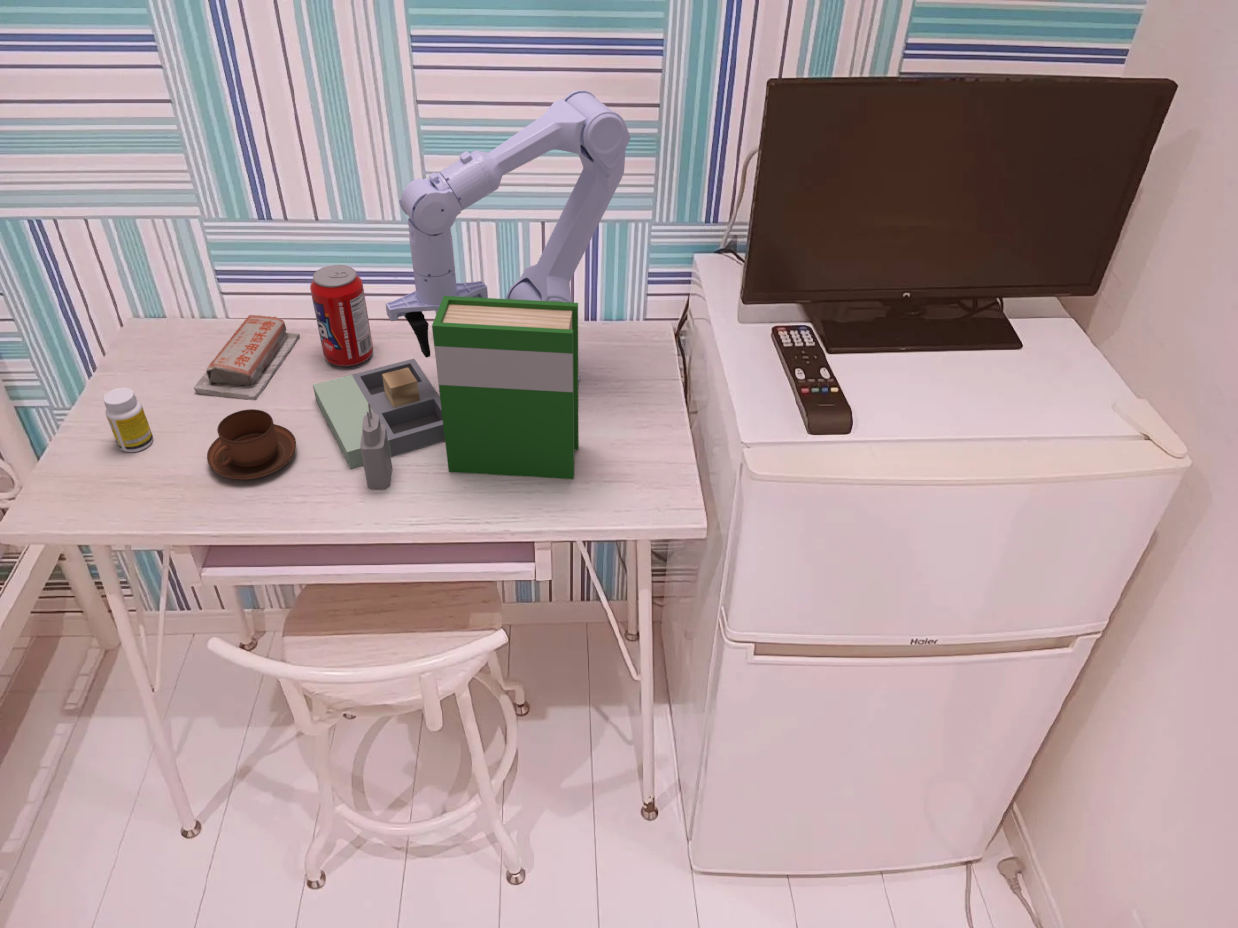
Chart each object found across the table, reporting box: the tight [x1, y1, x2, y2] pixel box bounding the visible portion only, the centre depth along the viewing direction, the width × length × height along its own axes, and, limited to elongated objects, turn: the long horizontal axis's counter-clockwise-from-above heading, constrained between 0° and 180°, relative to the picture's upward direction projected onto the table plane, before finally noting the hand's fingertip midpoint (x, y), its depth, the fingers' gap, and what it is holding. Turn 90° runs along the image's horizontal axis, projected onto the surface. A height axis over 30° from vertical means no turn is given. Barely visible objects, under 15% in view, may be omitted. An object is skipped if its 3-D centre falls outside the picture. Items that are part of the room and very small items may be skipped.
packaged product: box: [193, 314, 301, 401], centre depth 156 cm, size 18×5×10 cm
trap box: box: [312, 358, 445, 469], centre depth 147 cm, size 16×18×3 cm
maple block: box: [382, 368, 420, 408], centre depth 146 cm, size 4×4×4 cm
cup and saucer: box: [206, 408, 297, 480], centre depth 138 cm, size 12×12×6 cm
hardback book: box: [431, 296, 580, 480], centre depth 133 cm, size 18×7×24 cm, turn 87°
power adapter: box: [360, 403, 393, 491], centre depth 134 cm, size 3×5×12 cm, turn 6°
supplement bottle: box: [102, 387, 154, 453], centre depth 139 cm, size 5×5×8 cm
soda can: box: [310, 264, 374, 367], centre depth 155 cm, size 8×8×15 cm
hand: (442, 349), depth 145 cm, fingers open, 5 cm apart
